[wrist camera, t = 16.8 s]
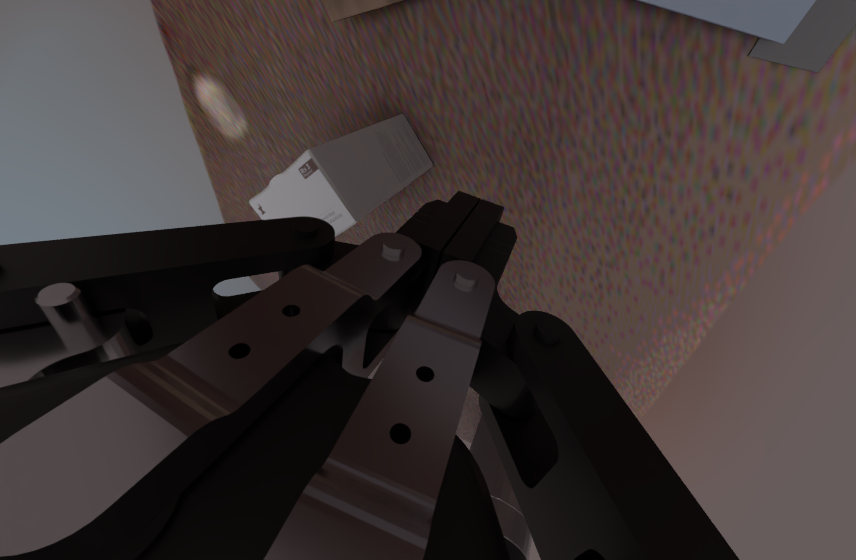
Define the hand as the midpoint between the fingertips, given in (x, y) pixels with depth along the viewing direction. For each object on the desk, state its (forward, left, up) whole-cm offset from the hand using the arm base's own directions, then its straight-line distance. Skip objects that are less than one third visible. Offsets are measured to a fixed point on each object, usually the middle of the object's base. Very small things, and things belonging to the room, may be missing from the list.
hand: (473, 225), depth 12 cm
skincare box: (-9, +14, -23) cm, 29 cm away
